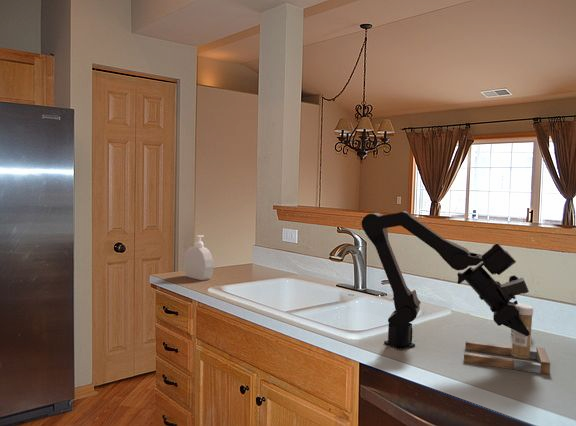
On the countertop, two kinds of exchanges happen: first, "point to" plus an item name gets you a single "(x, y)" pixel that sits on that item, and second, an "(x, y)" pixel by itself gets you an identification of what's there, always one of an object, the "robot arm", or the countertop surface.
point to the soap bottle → (198, 261)
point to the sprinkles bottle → (519, 340)
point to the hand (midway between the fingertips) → (527, 332)
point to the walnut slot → (539, 354)
